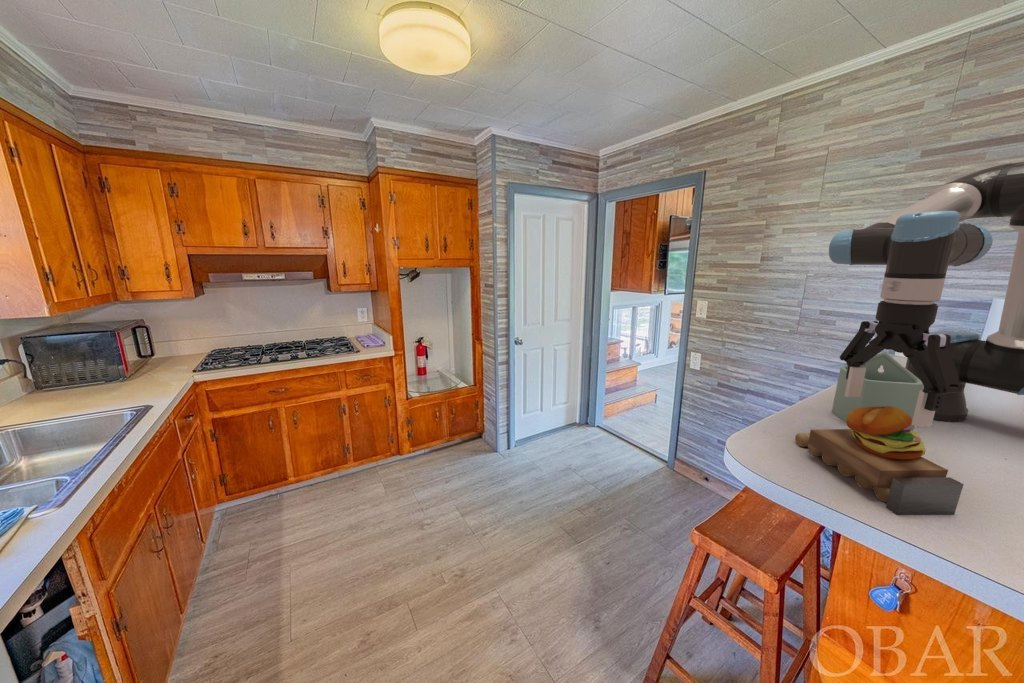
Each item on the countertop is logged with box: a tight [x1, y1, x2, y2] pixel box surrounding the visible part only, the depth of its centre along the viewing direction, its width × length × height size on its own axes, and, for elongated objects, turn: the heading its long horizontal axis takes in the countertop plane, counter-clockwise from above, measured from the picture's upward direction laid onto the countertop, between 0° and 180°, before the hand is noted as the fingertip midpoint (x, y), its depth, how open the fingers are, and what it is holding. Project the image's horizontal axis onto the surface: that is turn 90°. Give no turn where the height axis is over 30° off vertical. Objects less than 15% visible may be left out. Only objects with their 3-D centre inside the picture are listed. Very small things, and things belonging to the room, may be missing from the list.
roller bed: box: [794, 432, 890, 503], centre depth 77 cm, size 8×23×3 cm, turn 0°
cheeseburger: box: [846, 406, 927, 459], centre depth 72 cm, size 10×11×10 cm
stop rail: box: [885, 476, 964, 516], centre depth 64 cm, size 10×2×6 cm, turn 90°
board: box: [808, 428, 949, 488], centre depth 74 cm, size 12×16×4 cm
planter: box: [831, 351, 924, 431], centre depth 95 cm, size 16×8×20 cm, turn 29°
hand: (883, 409), depth 71 cm, fingers open, 13 cm apart
